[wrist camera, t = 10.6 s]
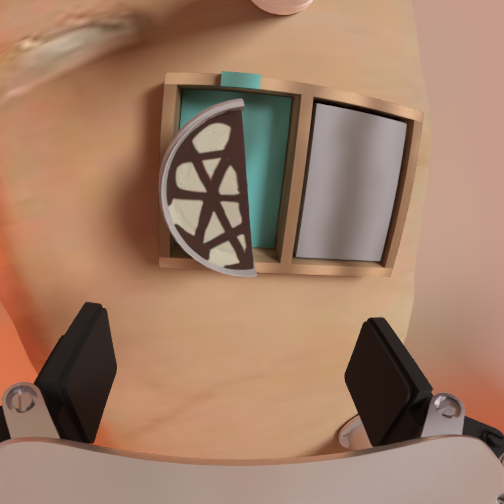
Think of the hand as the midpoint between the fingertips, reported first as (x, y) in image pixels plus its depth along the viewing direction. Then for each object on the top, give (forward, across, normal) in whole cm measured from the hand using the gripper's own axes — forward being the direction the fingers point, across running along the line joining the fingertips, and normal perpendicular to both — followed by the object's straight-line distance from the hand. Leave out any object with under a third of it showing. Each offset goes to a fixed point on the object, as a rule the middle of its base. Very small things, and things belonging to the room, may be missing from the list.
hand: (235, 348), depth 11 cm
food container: (+21, +2, -3) cm, 21 cm away
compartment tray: (+21, -5, -3) cm, 22 cm away
